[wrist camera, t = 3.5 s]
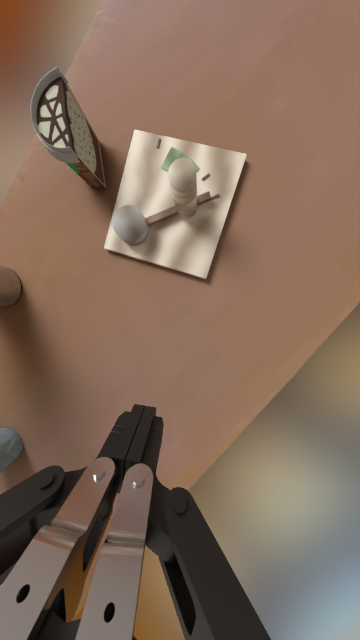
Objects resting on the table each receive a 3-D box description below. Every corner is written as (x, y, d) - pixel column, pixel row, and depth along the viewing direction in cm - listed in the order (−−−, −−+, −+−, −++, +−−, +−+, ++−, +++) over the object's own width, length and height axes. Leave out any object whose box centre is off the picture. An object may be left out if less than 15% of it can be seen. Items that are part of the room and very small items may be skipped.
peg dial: (125, 249, 34) (101, 231, 26) (116, 221, 34) (88, 192, 25) (214, 213, 31) (219, 179, 23) (204, 182, 31) (206, 137, 23)
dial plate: (107, 249, 36) (103, 247, 34) (136, 135, 33) (134, 128, 32) (205, 279, 34) (206, 278, 32) (245, 159, 31) (247, 153, 30)
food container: (71, 141, 35) (20, 75, 25) (98, 133, 34) (56, 62, 25) (80, 201, 36) (34, 160, 26) (107, 195, 35) (70, 150, 25)
